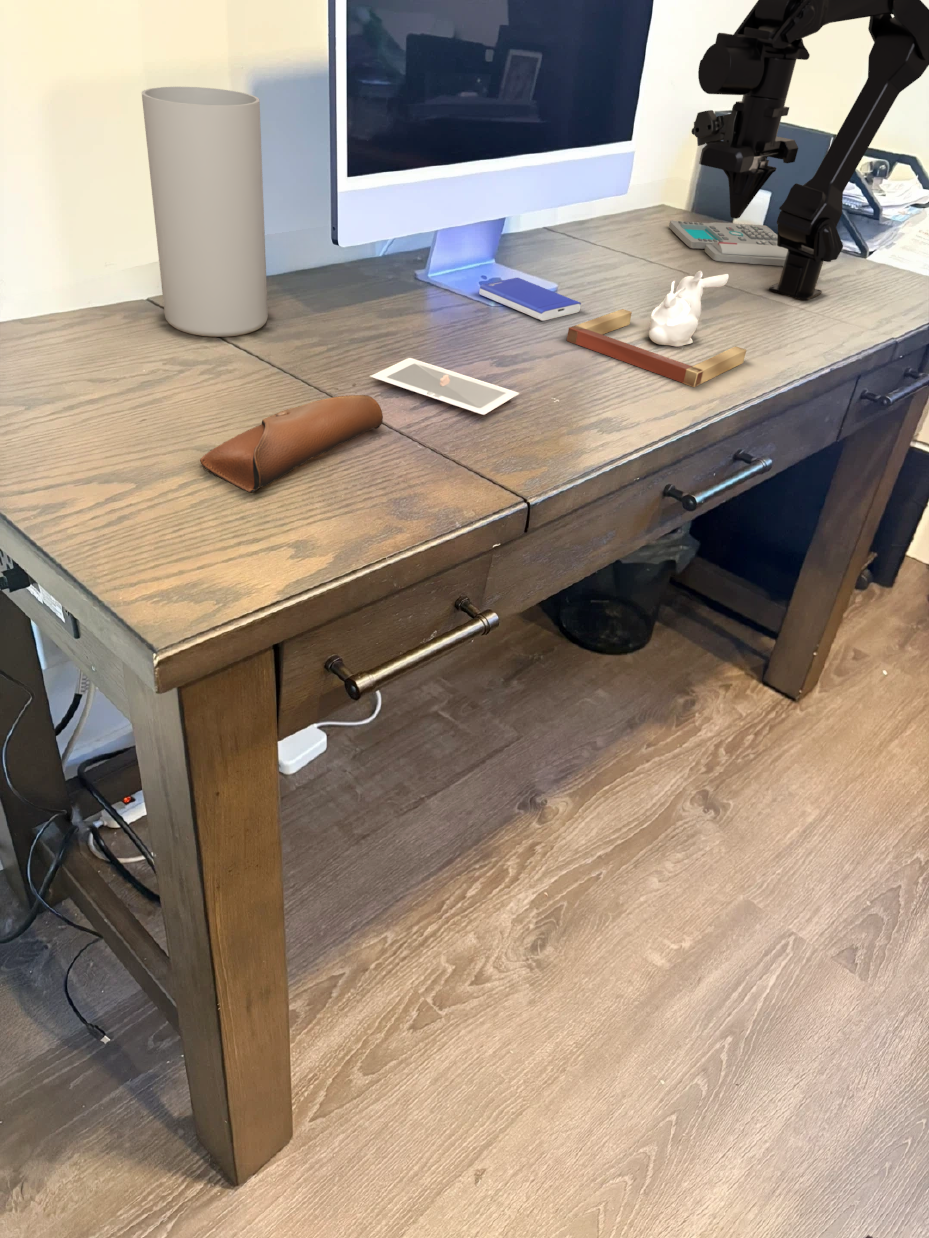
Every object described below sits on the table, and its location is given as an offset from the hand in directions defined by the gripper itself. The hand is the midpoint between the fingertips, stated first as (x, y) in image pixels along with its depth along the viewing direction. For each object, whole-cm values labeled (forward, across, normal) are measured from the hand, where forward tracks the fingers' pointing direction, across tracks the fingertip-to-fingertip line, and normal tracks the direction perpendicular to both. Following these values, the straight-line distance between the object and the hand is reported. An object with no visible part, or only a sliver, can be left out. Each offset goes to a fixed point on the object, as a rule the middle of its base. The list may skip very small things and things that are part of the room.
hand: (734, 218), depth 135 cm
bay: (+12, +27, +6) cm, 31 cm away
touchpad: (+13, +60, -2) cm, 61 cm away
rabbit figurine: (+12, +20, +6) cm, 24 cm away
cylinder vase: (+13, +66, -35) cm, 76 cm away
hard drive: (+12, +26, -16) cm, 33 cm away
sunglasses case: (+13, +82, -2) cm, 83 cm away
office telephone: (+12, -34, -14) cm, 39 cm away
